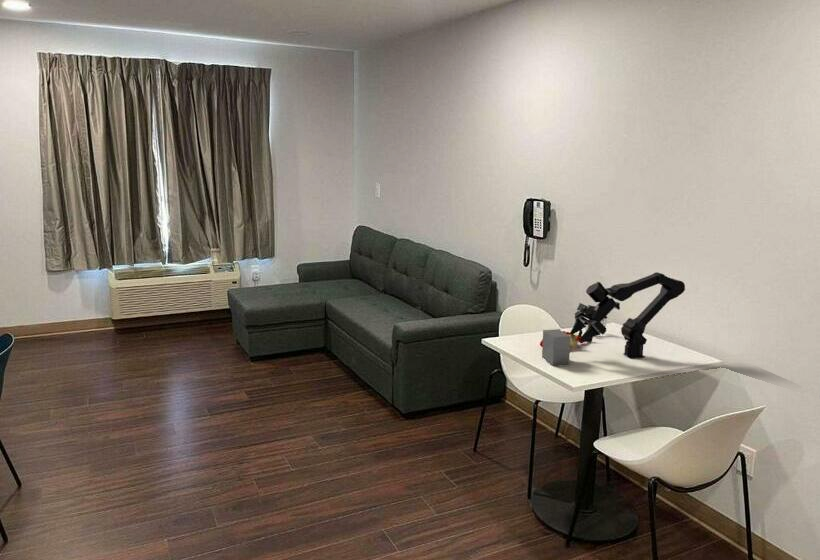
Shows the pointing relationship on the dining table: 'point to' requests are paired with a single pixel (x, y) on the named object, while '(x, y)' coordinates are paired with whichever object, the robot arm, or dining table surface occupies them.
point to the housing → (556, 347)
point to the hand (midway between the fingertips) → (575, 337)
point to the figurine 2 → (601, 322)
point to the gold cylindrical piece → (573, 341)
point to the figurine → (576, 338)
